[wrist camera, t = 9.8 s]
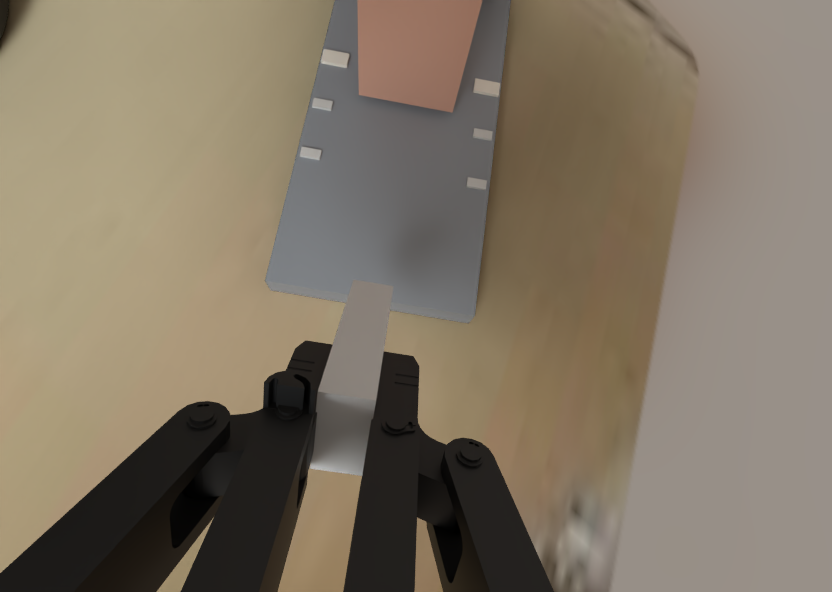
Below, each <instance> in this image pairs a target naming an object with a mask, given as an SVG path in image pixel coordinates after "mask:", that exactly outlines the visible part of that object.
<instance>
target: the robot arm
mask: <svg viewBox="0 0 832 592" xmlns="http://www.w3.org/2000/svg"><path fill="white" fill-rule="evenodd" d="M8 7H9V0H0V39H1V36H2V34H3V31H4V28H5V25H6V21H7V16H8ZM392 293H393V286H390V285H384V284H378V283H371V282H365V281H359V280H353V283H352V286H351V289H350V292H349V295H348V298H347V301H346V305H345V308H344V311H343V314H342V317H341V320H340V323H339V327H338V330H337V333H336V336H335V339H334V342H333V345H331V344H325V343H318V342H312V341H304V342H303V343H302V344H301V345H299V346H298V347H297V348H295V351H294V353H293V355H292V357H291V361H290V362H289V364H288V367H287V369H286V371H282V372H277V373H275V374H273V375H271V376H269V377H268V378H267V380H266V381H265V382H264V402H263V409H261V410H259V411H256V412H253V413H247V414H238V415H230V413H229V411H228V410H227V408H226V407H225V406H223V405H221V404H219V403H215V402H210V401H205V402H196V403H193V404H190V405H187V406H186V407H184V408H183V409H181V410H179V411H178V412H177V413H176V414H175V415H174V416H173V417H172V418H171V419H169V420H168V421H167V422H166V423H165V424H164V425H163V426H162V427H161V428H160V429H158V430H157V431H156V432H155V433H154V434H153V435H152V436H151V437H150V438H149V439H147V440H146V441H145V442H144V443H143V444H142V445H141V446H140V447H139V448H138V449H136V450H135V451H134V452H133V453H132V454H131V455H130V456H129V457H128V458H127V459H125V460H124V461H123V462H122V463H121V464H120V465H119V466H118V467H117V468H116V469H114V470H113V471H112V472H111V473H110V474H109V475H108V476H107V477H106V478H105V479H103V480H102V481H101V482H100V483H99V484H98V485H97V486H96V487H95V488H94V489H92V490H91V491H90V492H89V493H88V494H87V495H86V496H85V497H84V498H83V499H81V500H80V501H79V502H78V503H77V504H76V505H75V506H74V507H73V508H72V509H70V510H69V511H68V512H67V513H66V514H65V515H64V516H63V517H62V518H61V519H59V520H58V521H57V522H56V523H55V524H54V525H53V526H52V527H51V528H50V529H49V530H47V531H46V532H45V533H44V534H43V535H42V536H41V537H40V538H39V539H38V540H36V541H35V542H34V543H33V544H32V545H31V546H30V547H29V548H28V549H27V550H25V551H24V552H23V553H22V554H21V555H20V556H19V557H18V558H17V559H16V560H14V561H13V562H12V563H11V564H10V565H9V566H8V567H7V568H6V569H5V570H3V571H2V572H1V573H0V592H156V591H157V590H158V589H159V587H160V586H161V585H162V584H163V582H164V581H165V580H166V578H167V577H168V576H169V574H170V573H171V572H172V571H173V569H174V568H175V567H176V565H177V564H178V563H179V561H180V560H181V559H182V558H183V556H184V555H185V554H186V552H187V551H188V550H189V548H190V547H191V546H192V544H193V543H194V542H195V541H196V539H197V538H198V537H199V535H200V534H201V533H202V531H203V530H204V529H205V528H206V526H207V525H208V524H209V522H210V521H211V520H212V518H213V517H214V519H213V521H212V523H211V525H210V527H209V530H208V532H207V534H206V536H205V539H204V541H203V543H202V545H201V548H200V550H199V552H198V554H197V556H196V559H195V561H194V563H193V565H192V568H191V570H190V572H189V574H188V577H187V579H186V581H185V583H184V586H183V588H182V590H181V592H277V591H278V587H279V584H280V580H281V576H282V573H283V569H284V566H285V562H286V558H287V555H288V551H289V547H290V544H291V540H292V536H293V533H294V529H295V525H296V522H297V518H298V514H299V511H300V507H301V504H302V500H303V496H304V493H305V489H306V485H307V476H308V469H309V466H310V462H311V466H310V468H311V469H318V470H325V471H332V472H339V473H346V474H353V475H360V476H362V480H361V486H360V492H359V498H358V504H357V510H356V517H355V523H354V529H353V535H352V541H351V548H350V554H349V560H348V566H347V572H346V579H345V585H344V591H343V592H414V588H415V558H416V529H417V517H418V518H420V519H422V520H424V521H426V522H427V529H428V533H429V537H430V541H431V545H432V549H433V553H434V557H435V561H436V565H437V569H438V573H439V577H440V581H441V584H442V588H443V592H554V591H553V588H552V586H551V584H550V582H549V579H548V577H547V575H546V573H545V570H544V568H543V566H542V564H541V561H540V559H539V557H538V555H537V552H536V550H535V548H534V546H533V543H532V541H531V539H530V537H529V534H528V532H527V530H526V528H525V525H524V523H523V521H522V519H521V516H520V514H519V512H518V510H517V507H516V505H515V503H514V501H513V498H512V496H511V494H510V492H509V489H508V487H507V485H506V483H505V480H504V478H503V476H502V474H501V471H500V469H499V467H498V465H497V462H496V460H495V458H494V456H493V454H492V453H491V451H490V450H489V448H487V447H486V446H485V445H483V444H482V443H480V442H478V441H476V440H473V439H468V438H459V439H454V440H453V441H451V442H450V443H448V444H447V445H445V444H443V443H440V442H438V441H436V440H434V439H432V438H430V437H429V436H428V435H426V434H425V433H424V432H423V430H422V429H421V428H420V426H419V424H418V418H417V417H418V389H419V388H418V386H419V365H418V363H417V362H416V360H415V358H414V356H408V355H402V354H396V353H389V352H384V346H385V339H386V332H387V326H388V319H389V313H390V306H391V299H392Z"/></svg>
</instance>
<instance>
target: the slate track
mask: <svg viewBox="0 0 832 592" xmlns="http://www.w3.org/2000/svg"><path fill="white" fill-rule="evenodd" d="M510 3H511V0H483V1H482V4H481V8H480V12H479V16H478V19H477V23H476V27H475V31H474V34H473V38H472V42H471V46H470V49H469V53H468V57H467V60H466V64H465V68H464V72H463V75H462V79H461V83H460V87H459V90H458V94H457V98H456V102H455V105H454V109H453V113H451V112H446V111H441V110H435V109H430V108H425V107H420V106H414V105H409V104H404V103H399V102H393V101H388V100H383V99H378V98H372V97H367V96H362V95H359V79H358V6H357V0H335V2H334V6H333V10H332V14H331V18H330V22H329V26H328V30H327V34H326V38H325V42H324V46H323V50H322V54H321V59H320V63H319V67H318V71H317V75H316V79H315V83H314V87H313V91H312V95H311V99H310V103H309V107H308V111H307V115H306V119H305V123H304V127H303V131H302V135H301V139H300V143H299V147H298V151H297V155H296V159H295V163H294V167H293V171H292V175H291V179H290V183H289V187H288V191H287V195H286V199H285V203H284V207H283V211H282V215H281V219H280V223H279V227H278V231H277V235H276V239H275V243H274V247H273V251H272V255H271V259H270V263H269V267H268V271H267V275H266V279H265V282H266V283H267V285H268V287H269V288H270V290H272V291H278V292H284V293H290V294H296V295H302V296H308V297H314V298H320V299H326V300H332V301H338V302H344V303H346V301H347V298H348V295H349V292H350V289H351V286H352V283H353V280H359V281H365V282H371V283H378V284H384V285H390V286H393V293H392V299H391V306H390V310H392V311H398V312H404V313H410V314H416V315H422V316H428V317H434V318H440V319H446V320H452V321H457V322H463V323H469V322H470V321H471V320H472V319H473V318H474V316H475V310H476V301H477V292H478V283H479V275H480V266H481V257H482V248H483V240H484V231H485V222H486V213H487V204H488V196H489V187H490V178H491V169H492V161H493V152H494V143H495V134H496V126H497V117H498V108H499V99H500V91H501V82H502V73H503V64H504V56H505V47H506V38H507V29H508V21H509V12H510Z"/></svg>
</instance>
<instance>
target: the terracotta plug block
mask: <svg viewBox="0 0 832 592" xmlns="http://www.w3.org/2000/svg"><path fill="white" fill-rule="evenodd" d="M482 1H483V0H357V6H358V79H359V95H362V96H367V97H372V98H378V99H383V100H388V101H393V102H399V103H404V104H409V105H414V106H420V107H425V108H430V109H435V110H441V111H446V112H451V113H453V109H454V105H455V102H456V98H457V94H458V90H459V87H460V83H461V79H462V75H463V72H464V68H465V64H466V60H467V57H468V53H469V49H470V46H471V42H472V38H473V34H474V31H475V27H476V23H477V19H478V16H479V12H480V8H481V4H482Z"/></svg>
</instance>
